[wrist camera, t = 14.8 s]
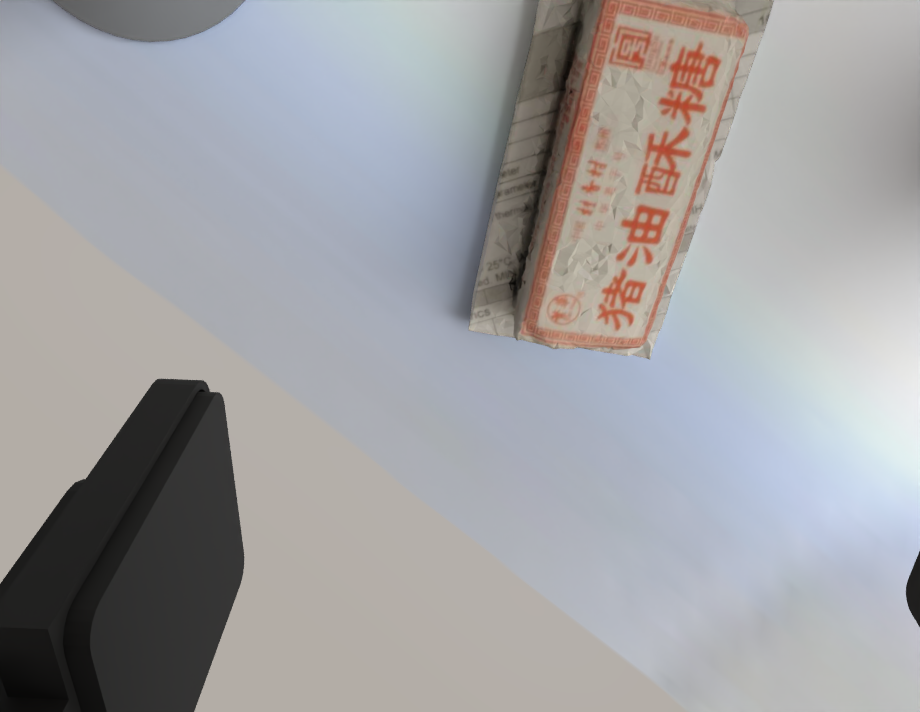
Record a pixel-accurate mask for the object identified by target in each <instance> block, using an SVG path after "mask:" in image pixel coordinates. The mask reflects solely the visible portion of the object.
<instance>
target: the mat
mask: <svg viewBox="0 0 920 712" xmlns="http://www.w3.org/2000/svg"><path fill="white" fill-rule="evenodd" d="M53 1H54V2H55V3H56V4H58V5H59V6H60V7H61V8H62V9H64V10H65V11H67V12H68V13H70V14H71V15H73V16H74V17H76V18H77V19H79V20H81V21H83V22H85V23H86V24H88V25H90V26H92V27H94V28H96V29H99V30H101V31H104V32H107V33H109V34H112V35H115V36H119V37H123V38H127V39H131V40H139V41H149V42H155V41H171V40H176V39H182V38H186V37H189V36H192V35H195V34H198V33H201V32H203V31H205V30H207V29H209V28H211V27H213V26H215V25H216V24H218V23H220V22H221V21H223V20H224V19H225V18H227V17H228V16H229V15H231V14H232V13H233V12H234V11H235V10H236V9H237V8H238V7H239V6H240V5H241V4H242V3H243V2H244V1H245V0H53Z"/></svg>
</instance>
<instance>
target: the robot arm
mask: <svg viewBox="0 0 920 712" xmlns="http://www.w3.org/2000/svg"><path fill="white" fill-rule="evenodd" d="M243 569H244V550H243V542H242V535H241V527H240V520H239V512H238V505H237V497H236V489H235V481H234V474H233V466H232V459H231V451H230V443H229V437H228V428H227V421H226V413H225V405H224V401H223V397H222V395H221V394H220V393H218V392H217V393H216V392H210V391H209V388H208V385H207V384H206V382H204V381H202V380H178V379H157V380H156V381H155V382H154V383H153V384H152V385H151V387H150V388H149V390H148V391H147V393H146V394H145V396H144V397H143V398H142V400H141V401H140V402H139V404H138V405H137V407H136V408H135V410H134V411H133V413H132V414H131V415H130V417H129V418H128V420H127V421H126V422H125V424H124V425H123V427H122V428H121V430H120V431H119V433H118V434H117V435H116V437H115V438H114V440H113V441H112V443H111V444H110V445H109V447H108V448H107V450H106V451H105V452H104V454H103V455H102V457H101V458H100V459H99V461H98V462H97V464H96V465H95V467H94V468H93V469H92V471H91V472H90V474H89V475H88V477H87V478H86V479H83V480H80V481H78V482H75V483H74V485H72V487H70V489H69V490H68V491H67V492H66V493H65V495H64V496H63V497H62V499H61V500H60V502H59V503H58V505H57V506H56V507H55V509H54V510H53V511H52V513H51V514H50V516H49V517H48V518H47V520H46V522H45V523H44V524H43V526H42V527H41V528H40V530H39V531H38V532H37V534H36V535H35V536H34V538H33V539H32V541H31V542H30V543H29V545H28V546H27V547H26V549H25V550H24V552H23V553H22V554H21V556H20V557H19V559H18V560H17V561H16V563H15V564H14V565H13V567H12V568H11V570H10V571H9V572H8V574H7V575H6V577H5V578H4V579H3V581H2V582H1V584H0V712H194V710H195V708H196V705H197V702H198V699H199V697H200V694H201V691H202V688H203V685H204V683H205V680H206V677H207V675H208V672H209V669H210V666H211V663H212V661H213V658H214V655H215V653H216V650H217V647H218V644H219V642H220V639H221V636H222V633H223V630H224V628H225V625H226V622H227V620H228V617H229V614H230V611H231V609H232V606H233V603H234V600H235V597H236V595H237V592H238V589H239V587H240V584H241V580H242V575H243ZM906 597H907V603H908V607H909V609H910V611H911V613H912V615H913V617H914V618H915V620H916V622H917V623H918V625H919V627H920V552H919V554H918V557H917V559H916V562H915V564H914V567H913V569H912V572H911V574H910V576H909V579H908V582H907V586H906Z"/></svg>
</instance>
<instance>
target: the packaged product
mask: <svg viewBox="0 0 920 712" xmlns="http://www.w3.org/2000/svg"><path fill="white" fill-rule="evenodd" d="M772 5H773V0H539V1H538V7H537V13H536V19H535V25H534V30H533V36H532V41H531V45H530V49H529V53H528V57H527V61H526V65H525V69H524V73H523V77H522V80H521V84H520V88H519V92H518V96H517V100H516V104H515V110H514V116H513V120H512V124H511V128H510V132H509V137H508V141H507V145H506V149H505V153H504V157H503V161H502V165H501V169H500V173H499V178H498V182H497V187H496V191H495V196H494V200H493V205H492V210H491V214H490V218H489V223H488V227H487V232H486V237H485V241H484V246H483V250H482V255H481V260H480V264H479V269H478V273H477V278H476V283H475V287H474V292H473V299H472V307H471V315H470V323H469V331H475V332H481V333H486V334H492V335H498V336H507V337H513V338H516V340H525V341H528V342H533V343H537V344H541V345H545V346H548V347H550V348H553V349H558V348H562V349H574V348H577V347H579V348H584V349H589V350H595V351H601V352H607V353H613V354H619V355H625V356H629V355H635V356H639V357H643V358H647V359H649V360H650V357H651V353H652V350H653V347H654V344H655V341H656V339H657V336H658V333H659V331H660V329H661V327H662V324H663V321H664V318H665V315H666V312H667V309H668V305H669V301H670V298H671V295H672V292H673V290H674V287H675V284H676V281H677V279H678V276H679V273H680V270H681V268H682V265H683V262H684V259H685V256H686V254H687V251H688V248H689V245H690V243H691V240H692V237H693V234H694V231H695V228H696V225H697V222H698V219H699V216H700V213H701V211H702V209H703V206H704V203H705V200H706V198H707V195H708V192H709V189H710V186H711V182H712V177H713V172H714V166H715V162H716V161H717V160H718V159H719V157H720V156H721V153H722V150H723V147H724V144H725V141H726V138H727V135H728V133H729V130H730V127H731V124H732V121H733V118H734V115H735V112H736V109H737V106H738V102H739V98H740V96H741V93H742V91H743V89H744V86H745V83H746V80H747V78H748V75H749V72H750V69H751V66H752V64H753V61H754V58H755V55H756V52H757V49H758V46H759V43H760V40H761V38H762V35H763V33H764V30H765V27H766V24H767V21H768V18H769V15H770V11H771V8H772Z"/></svg>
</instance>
